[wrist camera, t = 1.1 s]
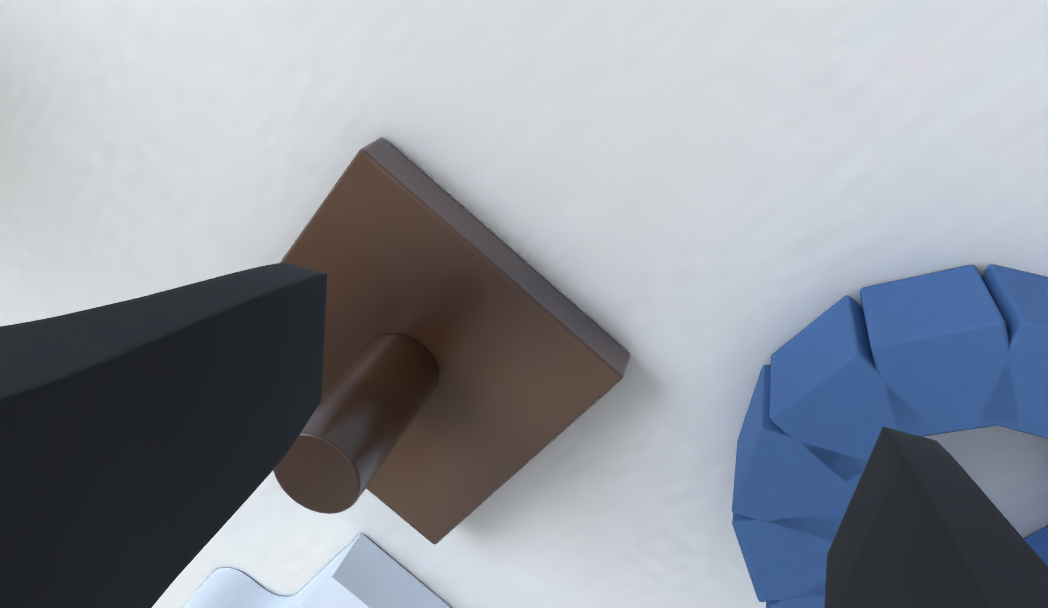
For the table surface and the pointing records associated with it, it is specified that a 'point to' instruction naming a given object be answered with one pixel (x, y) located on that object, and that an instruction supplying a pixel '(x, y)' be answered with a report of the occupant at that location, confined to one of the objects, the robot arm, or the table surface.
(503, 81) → the table surface
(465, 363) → the peg stand
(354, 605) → the mounting plate
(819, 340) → the ring
